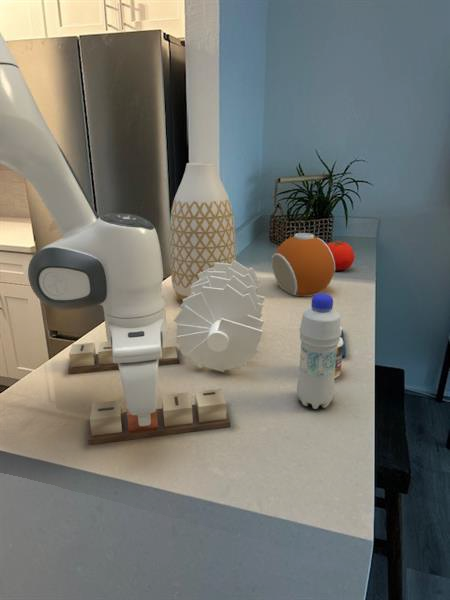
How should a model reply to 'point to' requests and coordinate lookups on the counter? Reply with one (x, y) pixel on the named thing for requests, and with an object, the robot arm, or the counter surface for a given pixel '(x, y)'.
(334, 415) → the counter surface
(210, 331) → the spiral staircase
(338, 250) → the tomato
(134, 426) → the s tile
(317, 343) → the bottle
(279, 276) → the alarm clock
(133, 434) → the front rack
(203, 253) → the vase
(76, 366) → the back rack
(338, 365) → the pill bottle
